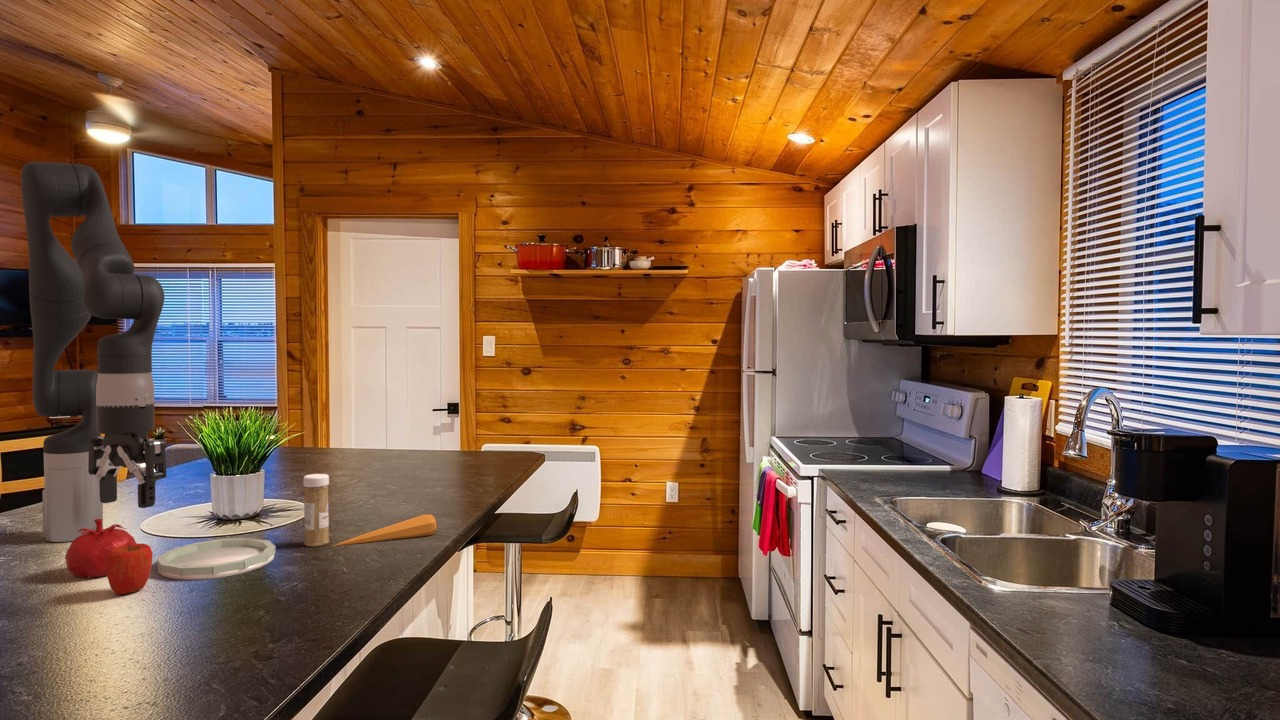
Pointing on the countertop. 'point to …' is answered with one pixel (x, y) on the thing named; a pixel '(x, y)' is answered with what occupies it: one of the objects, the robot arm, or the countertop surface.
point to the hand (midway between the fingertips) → (127, 504)
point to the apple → (128, 567)
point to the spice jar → (316, 509)
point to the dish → (215, 558)
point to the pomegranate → (95, 549)
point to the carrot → (398, 531)
